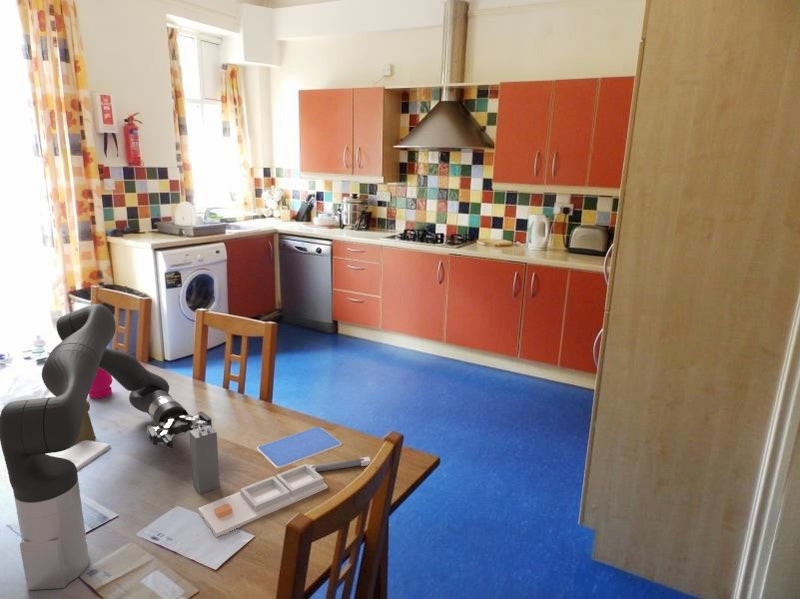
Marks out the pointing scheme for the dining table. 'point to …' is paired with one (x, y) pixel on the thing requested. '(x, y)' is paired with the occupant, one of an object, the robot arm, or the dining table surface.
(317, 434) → the tablet computer
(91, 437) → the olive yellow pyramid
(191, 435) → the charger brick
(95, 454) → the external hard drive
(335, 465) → the grey bar
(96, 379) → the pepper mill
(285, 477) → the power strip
